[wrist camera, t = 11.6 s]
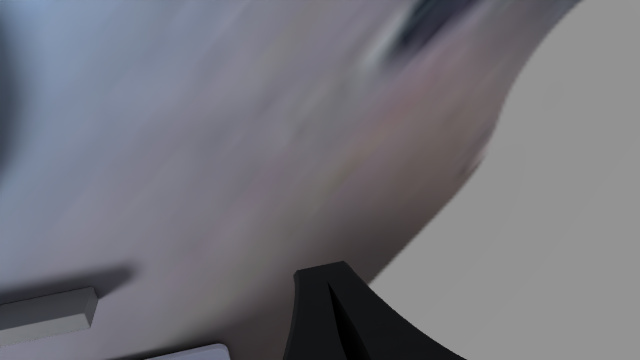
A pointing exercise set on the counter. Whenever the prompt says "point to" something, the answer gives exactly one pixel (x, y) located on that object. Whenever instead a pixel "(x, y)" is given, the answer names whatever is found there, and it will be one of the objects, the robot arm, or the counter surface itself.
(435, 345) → the robot arm
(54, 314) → the tray frame
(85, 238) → the counter surface
